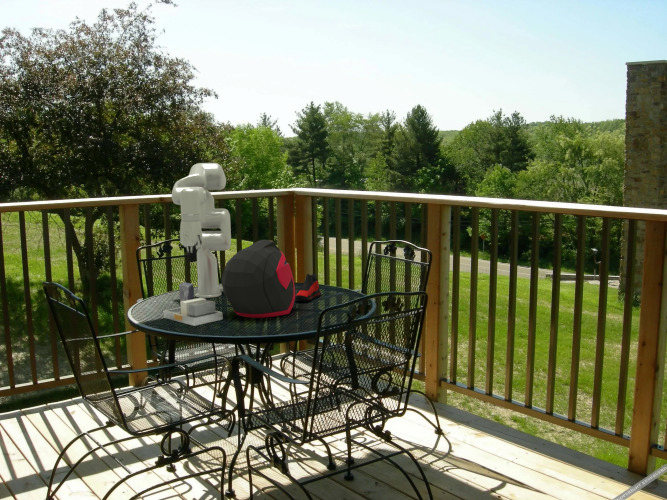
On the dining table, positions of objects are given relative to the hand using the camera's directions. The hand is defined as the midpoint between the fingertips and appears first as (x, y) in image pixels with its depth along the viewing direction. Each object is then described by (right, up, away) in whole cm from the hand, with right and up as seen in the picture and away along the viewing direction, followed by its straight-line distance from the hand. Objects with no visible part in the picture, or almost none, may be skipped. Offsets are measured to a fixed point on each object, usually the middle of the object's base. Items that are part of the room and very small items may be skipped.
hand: (192, 261), depth 272 cm
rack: (0, -24, -2) cm, 24 cm away
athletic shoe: (+47, -19, +33) cm, 60 cm away
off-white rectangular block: (+1, -23, -2) cm, 23 cm away
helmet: (+27, -22, +6) cm, 36 cm away
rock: (-8, -21, +24) cm, 32 cm away
